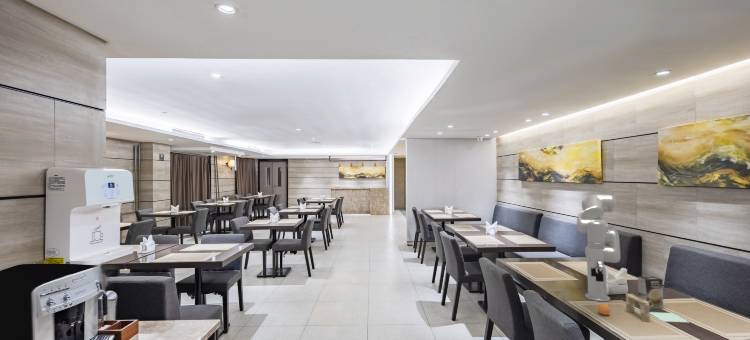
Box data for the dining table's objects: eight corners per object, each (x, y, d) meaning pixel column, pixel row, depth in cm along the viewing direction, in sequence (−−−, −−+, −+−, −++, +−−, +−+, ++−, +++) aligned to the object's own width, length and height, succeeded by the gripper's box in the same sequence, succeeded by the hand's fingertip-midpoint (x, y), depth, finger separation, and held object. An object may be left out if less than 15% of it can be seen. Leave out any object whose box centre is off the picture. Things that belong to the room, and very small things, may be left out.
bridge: (643, 321, 173) (642, 302, 173) (626, 310, 187) (625, 293, 188) (649, 321, 173) (649, 303, 173) (632, 311, 187) (632, 293, 187)
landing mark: (647, 312, 185) (647, 312, 185) (672, 313, 183) (672, 313, 183) (662, 321, 173) (662, 321, 173) (689, 322, 171) (689, 322, 171)
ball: (596, 312, 185) (595, 302, 186) (607, 312, 185) (606, 302, 185) (601, 316, 180) (600, 305, 180) (612, 316, 179) (612, 306, 179)
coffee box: (647, 309, 189) (646, 279, 190) (638, 305, 196) (637, 276, 196) (664, 308, 190) (662, 279, 190) (654, 304, 196) (653, 276, 197)
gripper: (584, 242, 189) (585, 274, 188) (591, 247, 173) (592, 282, 172) (600, 243, 186) (601, 275, 186) (609, 248, 170) (610, 284, 170)
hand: (597, 278), depth 179 cm, fingers open, 9 cm apart
